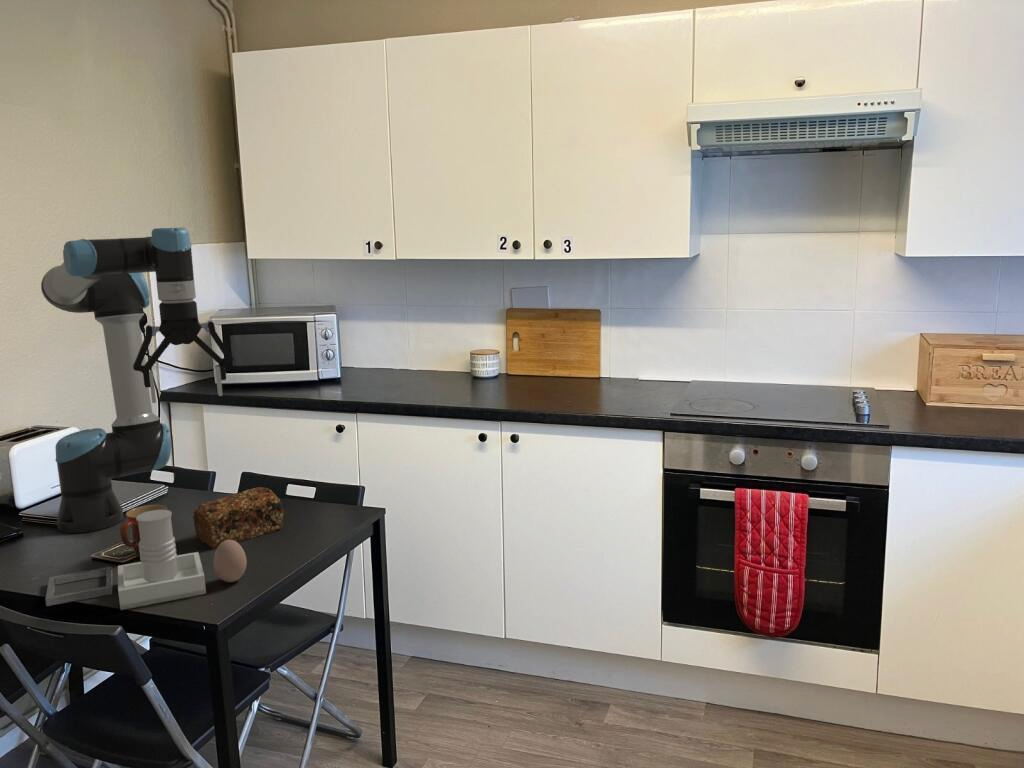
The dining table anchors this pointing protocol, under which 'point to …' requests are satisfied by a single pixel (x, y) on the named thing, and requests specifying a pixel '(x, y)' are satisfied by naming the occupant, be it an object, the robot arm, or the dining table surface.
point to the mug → (136, 525)
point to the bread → (238, 517)
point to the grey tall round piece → (157, 546)
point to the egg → (229, 561)
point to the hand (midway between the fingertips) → (187, 398)
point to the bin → (160, 583)
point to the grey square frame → (81, 594)
